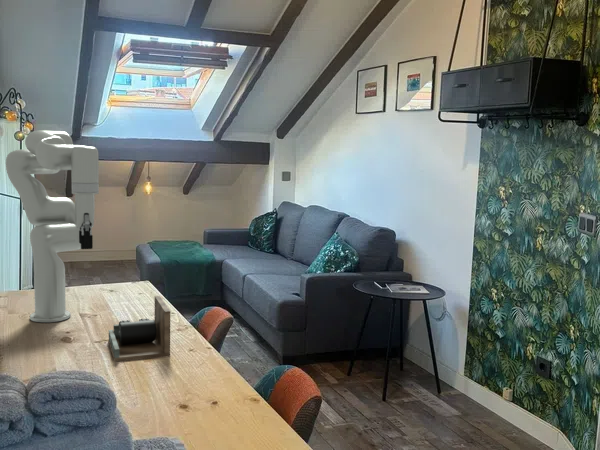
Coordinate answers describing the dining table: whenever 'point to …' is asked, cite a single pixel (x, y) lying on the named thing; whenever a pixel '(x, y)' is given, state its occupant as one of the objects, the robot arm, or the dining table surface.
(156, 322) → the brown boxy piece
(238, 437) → the dining table surface
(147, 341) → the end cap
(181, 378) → the dining table surface
